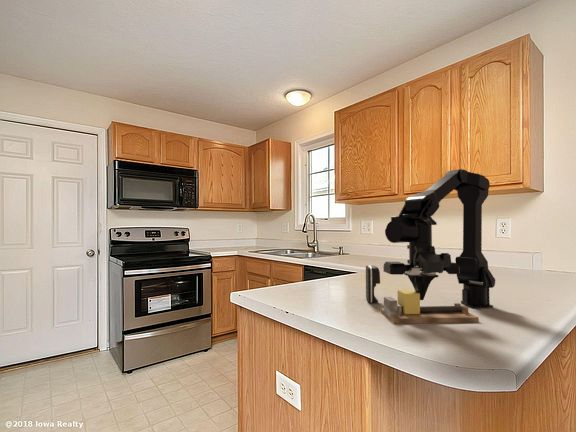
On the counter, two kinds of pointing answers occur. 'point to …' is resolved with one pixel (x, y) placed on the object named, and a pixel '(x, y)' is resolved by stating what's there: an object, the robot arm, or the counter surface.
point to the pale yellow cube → (409, 301)
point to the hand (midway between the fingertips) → (421, 299)
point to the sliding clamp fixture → (427, 313)
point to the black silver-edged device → (371, 282)
